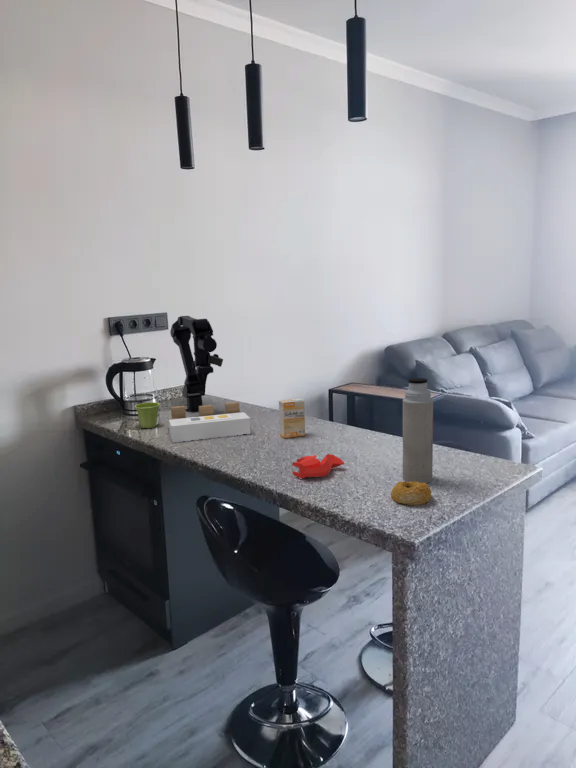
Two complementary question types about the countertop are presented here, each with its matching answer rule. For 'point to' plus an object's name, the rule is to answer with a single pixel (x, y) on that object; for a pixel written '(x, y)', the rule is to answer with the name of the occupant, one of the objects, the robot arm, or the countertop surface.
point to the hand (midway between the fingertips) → (203, 387)
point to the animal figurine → (316, 466)
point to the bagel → (411, 493)
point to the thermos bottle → (417, 432)
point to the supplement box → (292, 418)
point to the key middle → (205, 410)
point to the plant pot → (147, 414)
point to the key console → (209, 427)
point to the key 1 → (178, 412)
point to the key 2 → (232, 408)
